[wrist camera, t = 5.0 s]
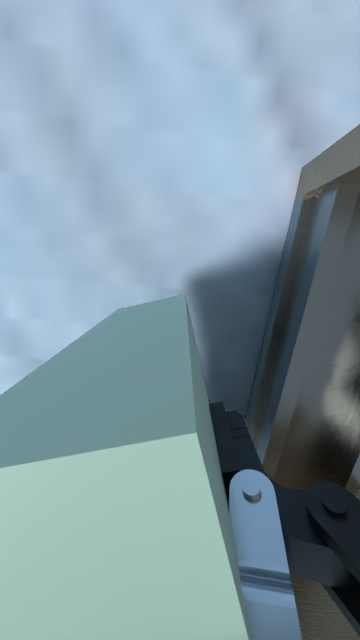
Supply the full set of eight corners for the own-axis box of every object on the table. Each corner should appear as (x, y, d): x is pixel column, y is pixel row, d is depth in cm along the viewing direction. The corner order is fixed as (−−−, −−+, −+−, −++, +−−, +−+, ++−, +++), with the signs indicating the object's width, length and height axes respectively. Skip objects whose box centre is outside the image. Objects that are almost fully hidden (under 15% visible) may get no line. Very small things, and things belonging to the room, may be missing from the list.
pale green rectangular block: (226, 477, 14) (301, 851, 5) (172, 486, 14) (156, 857, 5) (185, 294, 11) (196, 432, 2) (117, 309, 11) (-132, 492, 2)
